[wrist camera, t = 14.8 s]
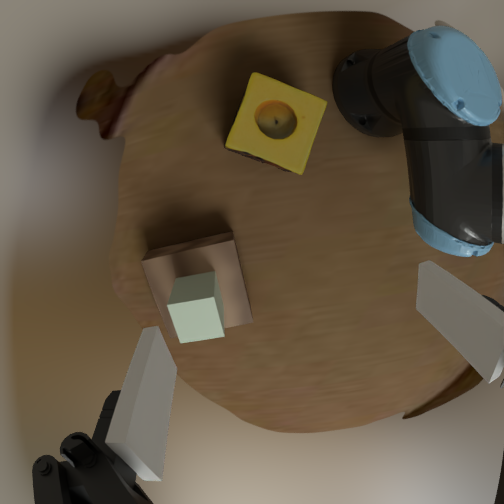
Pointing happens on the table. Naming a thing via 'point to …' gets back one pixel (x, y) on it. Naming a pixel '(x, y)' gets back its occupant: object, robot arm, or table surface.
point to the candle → (276, 124)
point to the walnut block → (197, 262)
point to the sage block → (197, 307)
